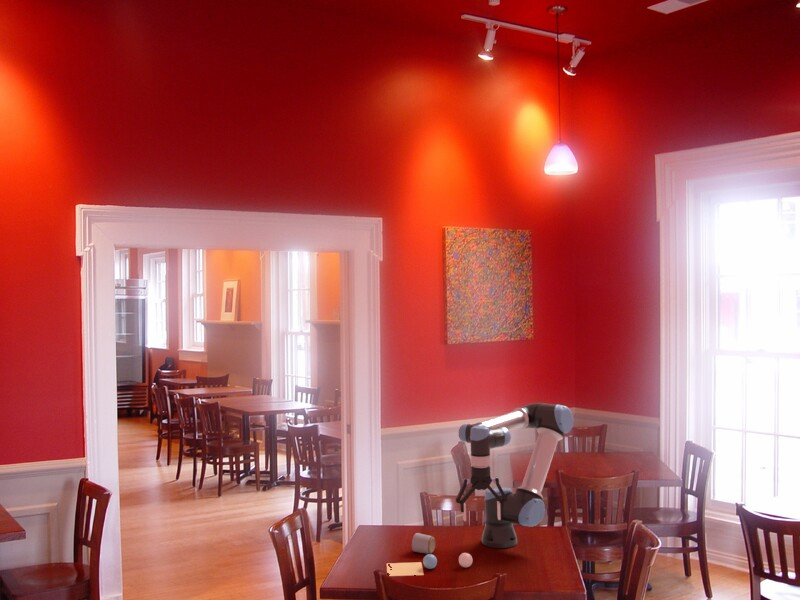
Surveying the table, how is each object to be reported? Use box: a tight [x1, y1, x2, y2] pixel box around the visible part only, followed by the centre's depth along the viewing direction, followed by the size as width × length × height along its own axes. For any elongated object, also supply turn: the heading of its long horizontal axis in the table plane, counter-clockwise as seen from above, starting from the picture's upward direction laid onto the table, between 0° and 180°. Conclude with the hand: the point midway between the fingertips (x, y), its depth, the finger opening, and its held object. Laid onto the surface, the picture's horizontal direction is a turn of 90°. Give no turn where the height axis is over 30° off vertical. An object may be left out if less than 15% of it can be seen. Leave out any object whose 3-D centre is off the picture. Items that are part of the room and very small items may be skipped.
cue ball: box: [458, 552, 473, 568], centre depth 306 cm, size 6×6×6 cm
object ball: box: [422, 553, 438, 570], centre depth 305 cm, size 6×6×6 cm
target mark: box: [386, 561, 425, 577], centre depth 305 cm, size 14×14×1 cm
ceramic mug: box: [411, 532, 436, 555], centre depth 326 cm, size 11×8×8 cm
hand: (481, 519), depth 307 cm, fingers open, 13 cm apart
